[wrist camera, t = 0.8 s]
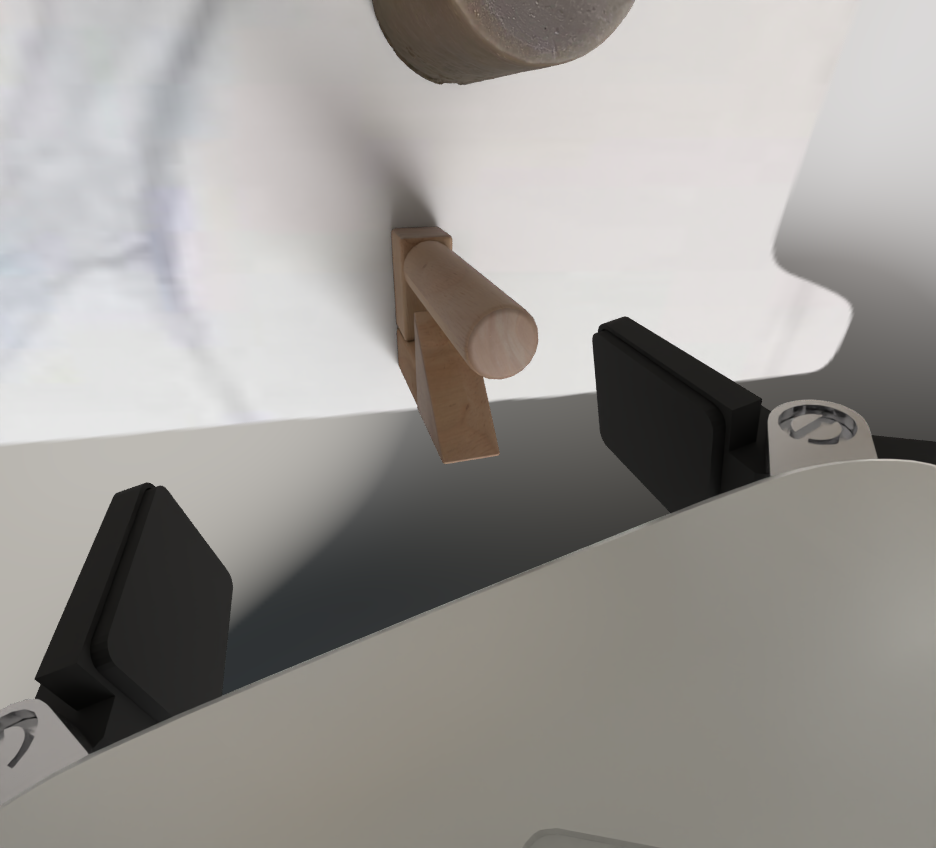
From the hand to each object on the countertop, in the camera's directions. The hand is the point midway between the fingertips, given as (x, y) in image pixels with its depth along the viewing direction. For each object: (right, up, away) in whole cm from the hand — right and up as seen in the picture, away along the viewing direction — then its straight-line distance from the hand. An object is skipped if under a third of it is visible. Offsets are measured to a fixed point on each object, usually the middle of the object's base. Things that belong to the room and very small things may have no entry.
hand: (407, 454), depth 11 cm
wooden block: (-3, +10, +29) cm, 30 cm away
